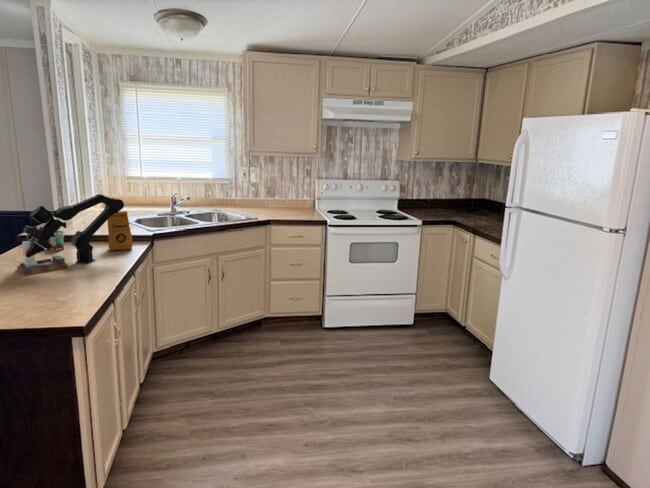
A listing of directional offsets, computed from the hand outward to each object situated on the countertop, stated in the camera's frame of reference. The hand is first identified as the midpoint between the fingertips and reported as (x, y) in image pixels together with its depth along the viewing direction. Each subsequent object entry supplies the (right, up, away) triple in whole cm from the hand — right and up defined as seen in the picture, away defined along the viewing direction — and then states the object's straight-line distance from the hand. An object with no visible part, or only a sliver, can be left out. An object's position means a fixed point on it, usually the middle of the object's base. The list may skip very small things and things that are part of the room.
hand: (25, 255), depth 204 cm
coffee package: (+23, +2, +47) cm, 52 cm away
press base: (+4, -6, +6) cm, 10 cm away
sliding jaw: (+1, -5, +2) cm, 6 cm away
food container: (-10, +2, +43) cm, 44 cm away
